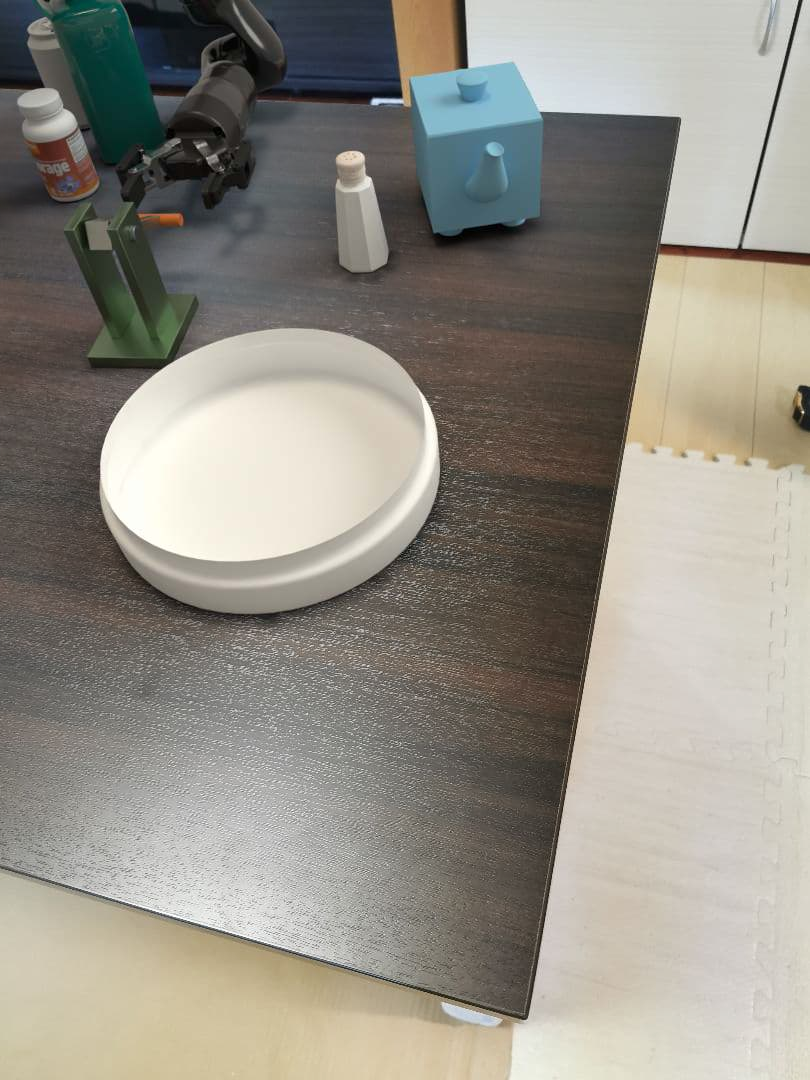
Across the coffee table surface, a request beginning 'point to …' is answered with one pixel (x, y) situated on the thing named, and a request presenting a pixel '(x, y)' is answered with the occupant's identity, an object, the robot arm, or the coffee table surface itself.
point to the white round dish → (270, 470)
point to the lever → (101, 239)
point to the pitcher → (106, 73)
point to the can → (54, 67)
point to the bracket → (130, 319)
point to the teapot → (477, 147)
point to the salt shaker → (358, 217)
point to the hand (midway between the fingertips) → (167, 202)
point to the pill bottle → (57, 146)
